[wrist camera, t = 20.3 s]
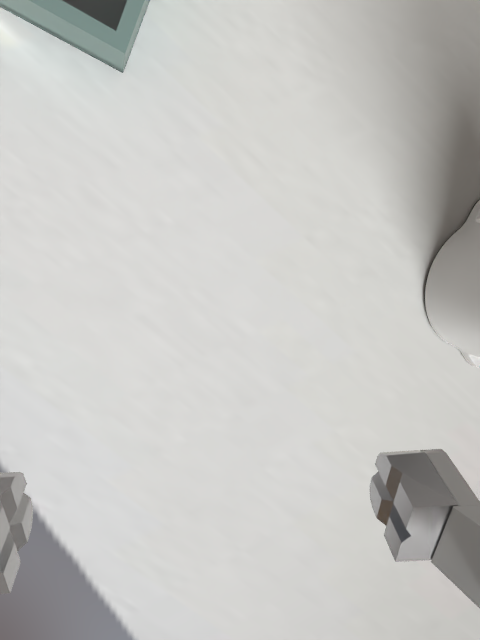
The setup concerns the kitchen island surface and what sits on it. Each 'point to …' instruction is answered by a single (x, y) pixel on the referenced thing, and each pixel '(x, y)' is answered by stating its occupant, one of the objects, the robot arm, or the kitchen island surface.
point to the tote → (87, 24)
